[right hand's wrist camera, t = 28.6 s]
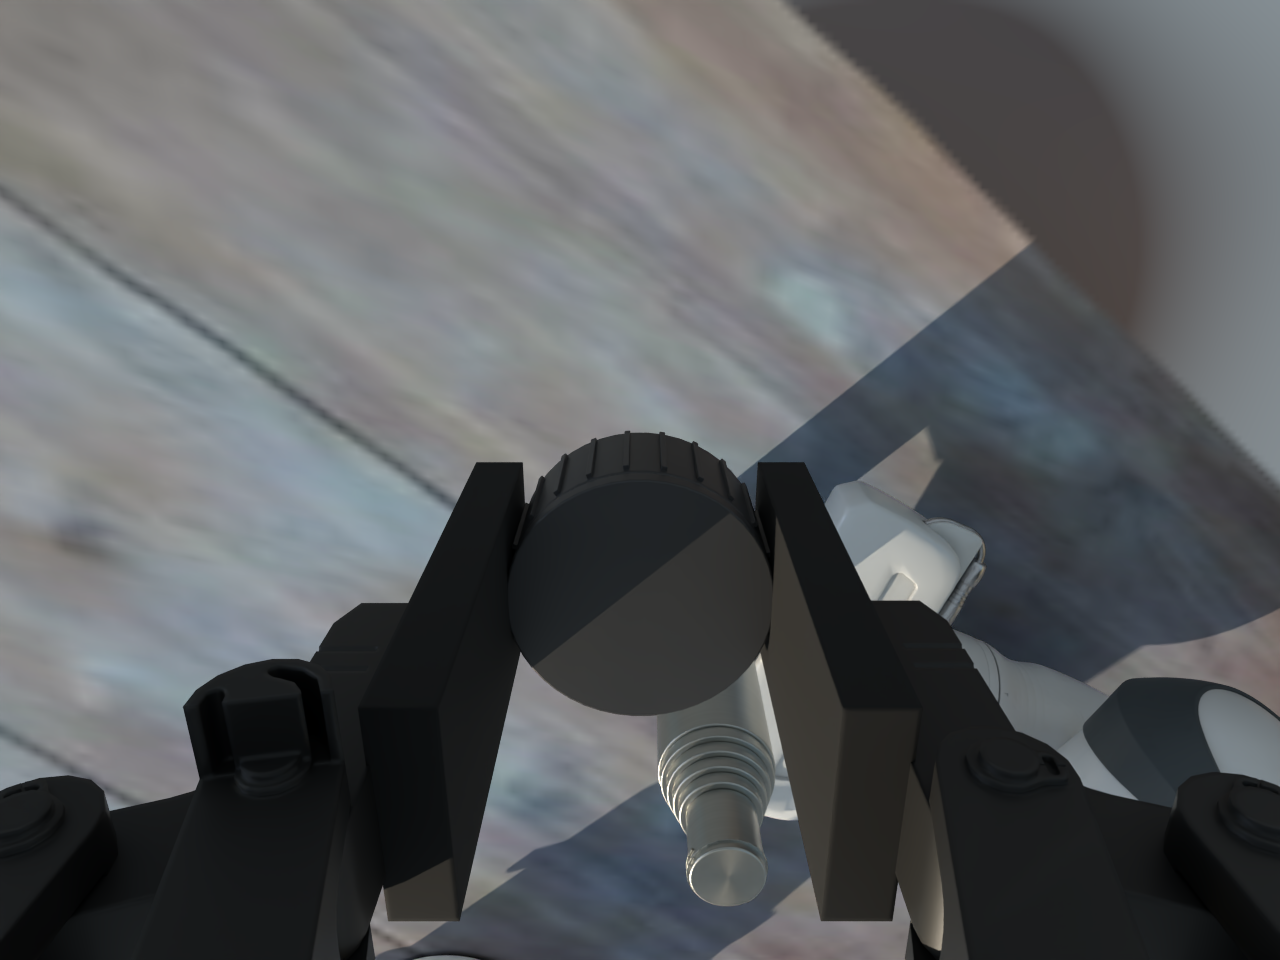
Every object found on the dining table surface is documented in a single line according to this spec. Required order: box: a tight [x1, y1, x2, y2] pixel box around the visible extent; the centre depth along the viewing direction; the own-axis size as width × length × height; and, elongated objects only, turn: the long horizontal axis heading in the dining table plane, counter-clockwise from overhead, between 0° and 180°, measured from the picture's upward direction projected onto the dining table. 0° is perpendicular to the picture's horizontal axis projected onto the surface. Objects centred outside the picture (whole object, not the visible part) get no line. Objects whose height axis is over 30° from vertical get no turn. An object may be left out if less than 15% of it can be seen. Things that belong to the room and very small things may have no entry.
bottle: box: [657, 661, 776, 906], centre depth 43 cm, size 5×5×25 cm
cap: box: [507, 431, 773, 716], centre depth 14 cm, size 4×4×2 cm
